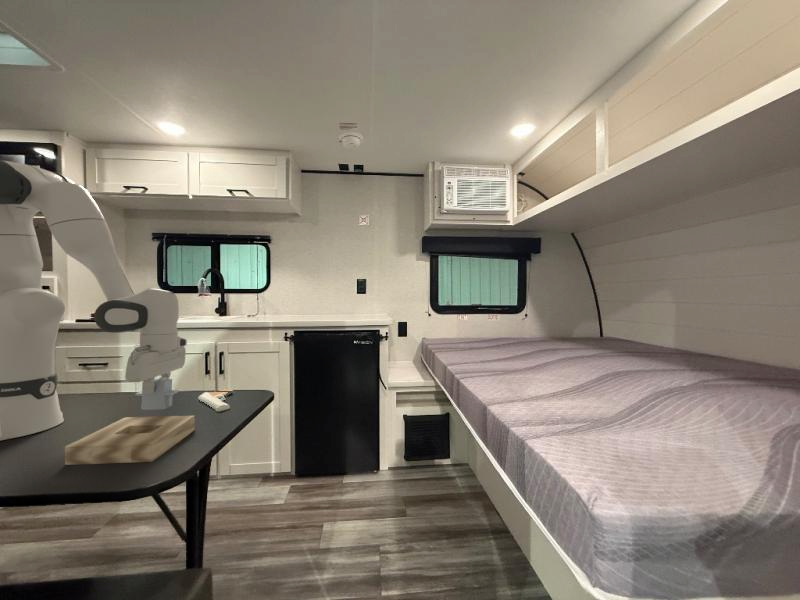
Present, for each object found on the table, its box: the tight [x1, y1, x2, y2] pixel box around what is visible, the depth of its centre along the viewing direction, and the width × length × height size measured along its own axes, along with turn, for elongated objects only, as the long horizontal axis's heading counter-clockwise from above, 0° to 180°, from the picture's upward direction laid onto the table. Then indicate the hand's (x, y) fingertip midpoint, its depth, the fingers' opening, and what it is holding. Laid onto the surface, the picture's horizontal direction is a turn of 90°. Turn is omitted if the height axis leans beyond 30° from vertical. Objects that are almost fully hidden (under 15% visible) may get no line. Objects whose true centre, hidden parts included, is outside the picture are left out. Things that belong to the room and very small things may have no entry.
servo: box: [134, 376, 179, 411], centre depth 90 cm, size 10×3×9 cm, turn 96°
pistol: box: [197, 388, 234, 413], centre depth 107 cm, size 2×20×11 cm
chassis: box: [64, 415, 196, 466], centre depth 75 cm, size 18×16×4 cm
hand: (157, 390), depth 90 cm, fingers closed on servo, 3 cm apart
